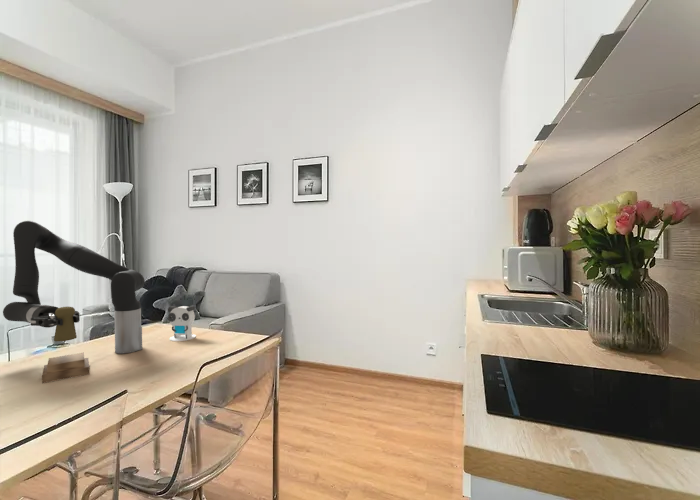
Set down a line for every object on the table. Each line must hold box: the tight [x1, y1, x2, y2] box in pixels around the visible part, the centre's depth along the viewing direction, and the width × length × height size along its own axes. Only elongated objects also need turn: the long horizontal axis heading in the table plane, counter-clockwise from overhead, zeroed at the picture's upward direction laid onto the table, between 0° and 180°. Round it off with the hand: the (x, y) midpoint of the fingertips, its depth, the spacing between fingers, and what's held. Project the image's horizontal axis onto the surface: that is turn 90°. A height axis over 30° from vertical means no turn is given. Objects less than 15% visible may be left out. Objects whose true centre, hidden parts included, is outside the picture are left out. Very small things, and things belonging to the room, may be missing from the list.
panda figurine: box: [167, 305, 197, 342], centre depth 159 cm, size 12×11×15 cm
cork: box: [53, 306, 78, 342], centre depth 115 cm, size 6×6×11 cm
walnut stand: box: [41, 352, 90, 384], centre depth 116 cm, size 12×12×5 cm
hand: (69, 320), depth 114 cm, fingers closed on cork, 4 cm apart
